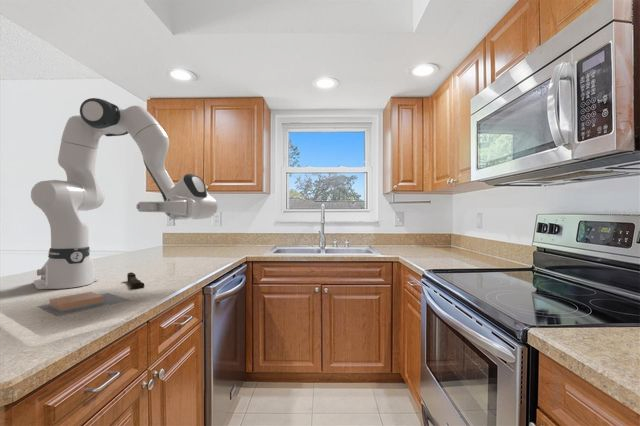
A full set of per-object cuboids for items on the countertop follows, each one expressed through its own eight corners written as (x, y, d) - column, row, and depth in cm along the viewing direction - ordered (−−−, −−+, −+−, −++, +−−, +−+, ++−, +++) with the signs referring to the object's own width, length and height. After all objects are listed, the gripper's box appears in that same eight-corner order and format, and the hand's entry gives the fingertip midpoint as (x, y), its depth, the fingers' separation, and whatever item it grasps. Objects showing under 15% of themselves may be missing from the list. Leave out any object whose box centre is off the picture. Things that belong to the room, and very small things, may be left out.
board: (37, 311, 88) (37, 306, 88) (108, 297, 103) (108, 292, 103) (57, 321, 80) (57, 316, 80) (130, 304, 96) (130, 300, 96)
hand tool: (144, 292, 111) (144, 279, 111) (131, 294, 108) (131, 280, 108) (137, 282, 126) (137, 271, 126) (125, 283, 124) (126, 272, 124)
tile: (90, 298, 96) (49, 306, 88) (90, 291, 96) (49, 299, 88) (103, 303, 92) (61, 311, 84) (103, 295, 92) (61, 304, 84)
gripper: (161, 198, 120) (122, 197, 109) (195, 198, 109) (156, 196, 98) (160, 215, 120) (122, 215, 109) (194, 216, 109) (156, 216, 98)
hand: (138, 206), depth 103 cm, fingers closed
